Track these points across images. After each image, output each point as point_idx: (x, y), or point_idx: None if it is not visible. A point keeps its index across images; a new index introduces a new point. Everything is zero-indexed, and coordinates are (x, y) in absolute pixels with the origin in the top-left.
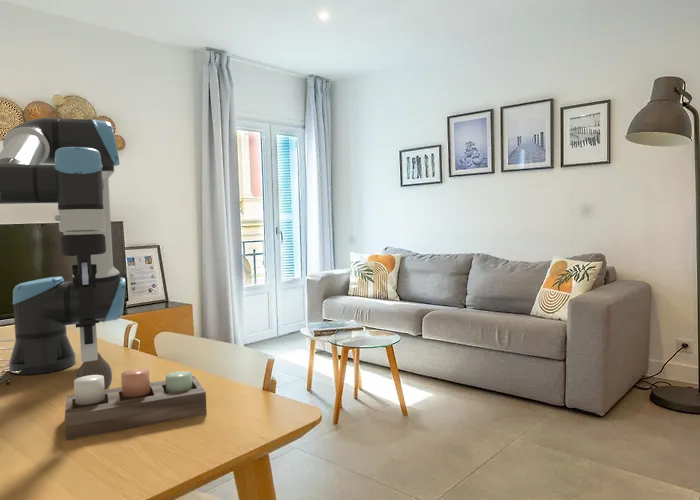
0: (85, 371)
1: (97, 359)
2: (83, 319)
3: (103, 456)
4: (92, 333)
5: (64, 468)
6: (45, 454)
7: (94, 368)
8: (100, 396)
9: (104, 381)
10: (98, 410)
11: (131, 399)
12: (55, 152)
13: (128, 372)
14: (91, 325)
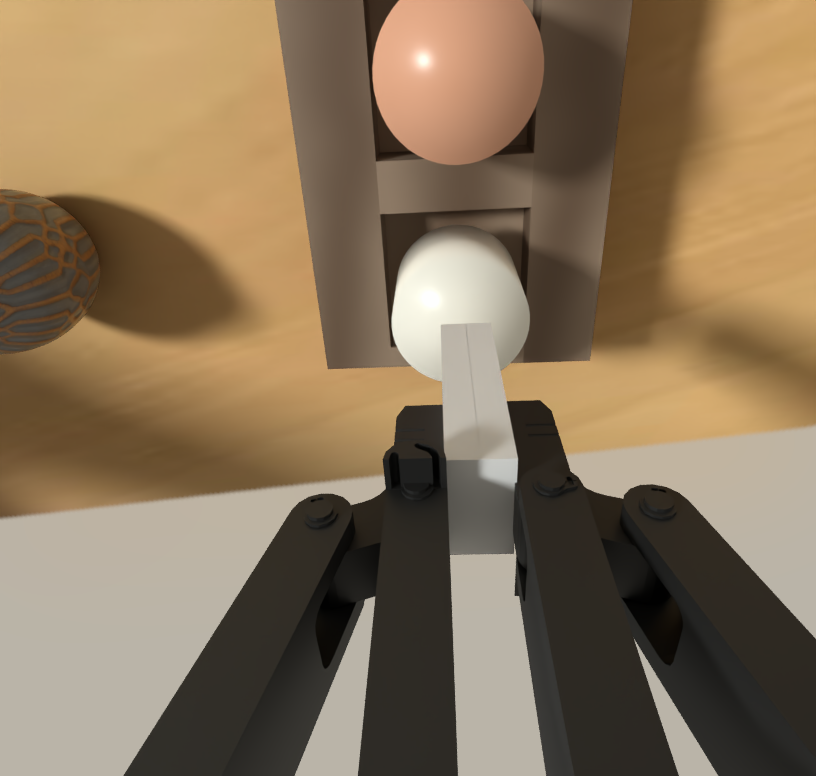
0: (47, 325)
1: (490, 326)
2: (670, 594)
3: (804, 200)
4: (560, 446)
5: (804, 309)
6: (649, 365)
7: (31, 290)
8: (503, 248)
9: (62, 225)
10: (601, 245)
11: (541, 97)
12: None
13: (440, 119)
14: (589, 495)
